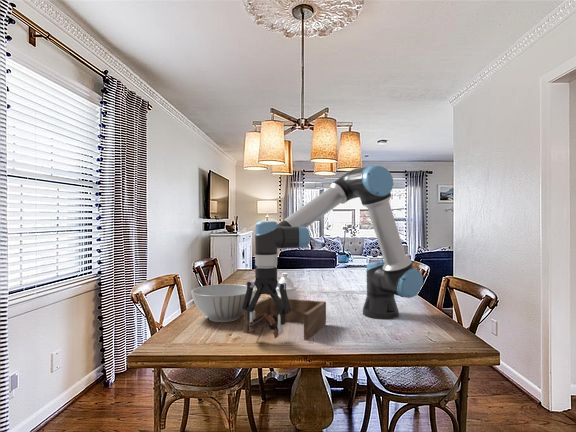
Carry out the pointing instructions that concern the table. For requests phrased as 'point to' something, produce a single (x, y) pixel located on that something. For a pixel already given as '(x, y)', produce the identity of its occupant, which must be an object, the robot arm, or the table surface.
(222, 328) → the table surface
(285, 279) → the honey pot
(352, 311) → the table surface
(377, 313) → the robot arm
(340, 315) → the table surface
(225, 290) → the decorative bowl
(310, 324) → the walnut u-shaped frame
